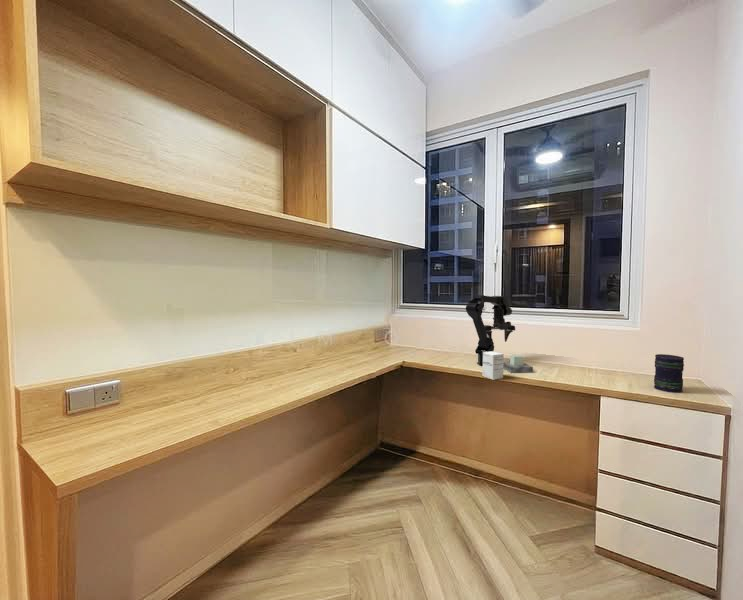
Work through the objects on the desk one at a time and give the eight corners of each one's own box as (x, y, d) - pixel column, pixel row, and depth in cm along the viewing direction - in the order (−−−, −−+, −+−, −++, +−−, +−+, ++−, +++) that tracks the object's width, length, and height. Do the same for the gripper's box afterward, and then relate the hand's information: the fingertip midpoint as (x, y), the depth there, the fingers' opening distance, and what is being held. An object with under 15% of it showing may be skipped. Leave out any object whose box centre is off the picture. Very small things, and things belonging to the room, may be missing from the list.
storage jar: (669, 386, 157) (671, 354, 156) (689, 393, 147) (690, 359, 146) (647, 386, 157) (649, 354, 156) (665, 392, 147) (667, 359, 146)
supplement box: (481, 376, 174) (482, 352, 174) (492, 374, 177) (493, 350, 177) (492, 380, 168) (493, 354, 167) (503, 378, 171) (504, 353, 170)
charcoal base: (510, 373, 180) (511, 367, 180) (500, 367, 192) (501, 362, 192) (532, 372, 181) (532, 367, 181) (521, 367, 193) (521, 361, 193)
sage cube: (514, 365, 184) (514, 356, 184) (509, 363, 189) (509, 354, 189) (523, 365, 184) (523, 356, 184) (518, 363, 189) (518, 354, 189)
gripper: (489, 317, 197) (488, 344, 198) (520, 317, 199) (519, 344, 199) (481, 316, 208) (481, 341, 209) (511, 315, 210) (510, 340, 210)
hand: (498, 341), depth 207 cm, fingers open, 9 cm apart
